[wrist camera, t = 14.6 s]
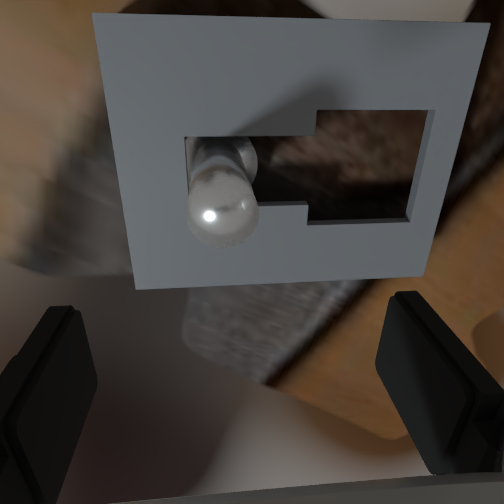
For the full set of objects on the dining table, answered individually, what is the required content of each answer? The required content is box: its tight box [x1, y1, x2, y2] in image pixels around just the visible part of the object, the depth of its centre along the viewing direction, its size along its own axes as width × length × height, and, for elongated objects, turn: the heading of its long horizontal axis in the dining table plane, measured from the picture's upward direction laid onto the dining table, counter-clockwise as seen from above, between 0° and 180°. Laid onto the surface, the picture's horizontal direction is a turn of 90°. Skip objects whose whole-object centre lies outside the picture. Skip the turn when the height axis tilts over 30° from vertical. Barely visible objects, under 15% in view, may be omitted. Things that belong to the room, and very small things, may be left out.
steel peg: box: [185, 136, 259, 248], centre depth 26 cm, size 6×6×13 cm
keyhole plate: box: [92, 13, 491, 290], centre depth 30 cm, size 20×26×4 cm
